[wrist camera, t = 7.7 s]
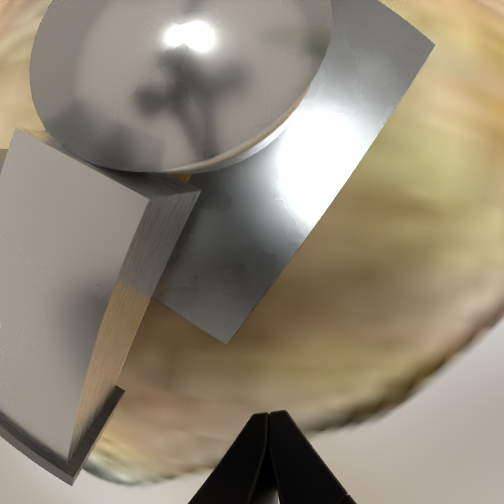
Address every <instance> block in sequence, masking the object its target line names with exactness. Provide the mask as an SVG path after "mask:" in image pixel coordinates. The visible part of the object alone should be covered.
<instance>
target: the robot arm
mask: <svg viewBox="0 0 504 504" xmlns="http://www.w3.org/2000/svg"><path fill="white" fill-rule="evenodd" d="M278 497H279V501H280V504H356V502H355V501H354V500H353V499H352V497H351V496H350V495H348V493H347V492H346V490H345V489H344V488H343V486H342V485H341V484H340V482H339V481H338V480H337V479H336V477H335V476H334V475H333V473H332V472H331V471H330V470H329V468H328V467H327V466H326V464H325V463H324V462H323V460H322V459H321V458H320V456H319V455H318V454H317V452H316V451H315V449H314V448H313V447H312V445H311V444H310V443H309V441H308V440H307V439H306V437H305V436H304V434H303V433H302V432H301V430H300V429H299V428H298V426H297V425H296V423H295V422H294V421H293V419H292V418H291V416H290V415H289V413H288V412H287V411H286V410H281V411H273V412H271V413H270V414H269V413H267V412H265V413H257V414H253V415H252V416H251V418H250V419H249V421H248V422H247V424H246V425H245V427H244V428H243V430H242V431H241V432H240V434H239V435H238V437H237V438H236V440H235V441H234V443H233V444H232V445H231V447H230V448H229V450H228V451H227V452H226V454H225V455H224V457H223V458H222V459H221V461H220V462H219V464H218V465H217V466H216V468H215V469H214V470H213V472H212V473H211V474H210V476H209V477H208V479H207V480H206V481H205V483H204V484H203V485H202V486H201V488H200V489H199V490H198V491H197V493H196V494H195V495H194V497H193V498H192V499H191V501H190V502H189V503H188V504H278Z"/></svg>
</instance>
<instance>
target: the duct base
mask: <svg viewBox="0 0 504 504" xmlns="http://www.w3.org/2000/svg"><path fill="white" fill-rule="evenodd" d="M331 5H332V20H333V21H332V30H331V38H330V42H329V45H328V48H327V52H326V55H325V58H324V60H323V62H322V64H321V66H320V68H319V70H318V72H317V74H316V76H315V78H314V80H313V82H312V84H311V86H310V88H309V90H308V92H307V94H306V95H305V97H304V99H303V101H302V103H301V105H300V107H299V109H298V111H297V113H296V114H295V116H294V117H293V119H292V120H291V122H290V123H289V124H288V125H287V127H286V128H285V129H284V130H283V131H282V132H281V133H280V135H279V136H277V137H276V138H275V139H274V140H273V141H272V142H271V143H270V144H268V145H267V146H266V147H264V148H263V149H261V150H260V151H259V152H257V153H256V154H254V155H252V156H250V157H249V158H247V159H245V160H243V161H241V162H239V163H236V164H234V165H231V166H228V167H226V168H222V169H218V170H214V171H210V172H204V173H196V174H172V173H170V174H172V175H174V176H176V177H178V178H180V179H182V180H184V181H185V182H187V183H189V184H191V185H193V186H195V187H197V188H199V189H201V190H202V191H201V193H200V195H199V197H198V199H197V201H196V203H195V205H194V207H193V209H192V211H191V213H190V215H189V217H188V219H187V221H186V223H185V225H184V227H183V229H182V232H181V234H180V236H179V238H178V240H177V242H176V244H175V246H174V248H173V251H172V253H171V255H170V257H169V259H168V261H167V264H166V266H165V268H164V270H163V272H162V275H161V277H160V279H159V281H158V283H157V286H156V288H155V290H154V293H153V295H152V297H153V298H155V299H156V300H158V301H159V302H161V303H162V304H164V305H165V306H167V307H168V308H170V309H171V310H173V311H174V312H176V313H177V314H179V315H180V316H182V317H183V318H185V319H186V320H188V321H189V322H191V323H192V324H194V325H196V326H197V327H199V328H200V329H202V330H203V331H205V332H207V333H208V334H210V335H211V336H213V337H215V338H216V339H218V340H219V341H221V342H223V343H224V344H227V343H228V342H229V340H230V339H231V338H232V337H233V335H234V334H235V333H236V331H237V330H238V329H239V327H240V326H241V325H242V324H243V322H244V321H245V320H246V318H247V317H248V316H249V314H250V313H251V312H252V310H253V309H254V308H255V306H256V305H257V304H258V302H259V301H260V300H261V298H262V297H263V296H264V294H265V293H266V292H267V290H268V289H269V288H270V286H271V285H272V284H273V282H274V281H275V280H276V278H277V277H278V276H279V274H280V273H281V272H282V270H283V269H284V267H285V266H286V265H287V263H288V262H289V261H290V259H291V258H292V257H293V255H294V254H295V252H296V251H297V250H298V248H299V247H300V246H301V244H302V243H303V241H304V240H305V239H306V237H307V236H308V234H309V233H310V232H311V230H312V229H313V227H314V226H315V225H316V223H317V222H318V220H319V219H320V218H321V216H322V215H323V213H324V212H325V211H326V209H327V208H328V206H329V205H330V204H331V202H332V201H333V199H334V198H335V196H336V195H337V194H338V192H339V191H340V189H341V188H342V186H343V185H344V183H345V182H346V181H347V179H348V178H349V176H350V175H351V173H352V172H353V170H354V169H355V168H356V166H357V165H358V163H359V162H360V160H361V159H362V157H363V156H364V154H365V153H366V151H367V150H368V148H369V147H370V145H371V144H372V142H373V141H374V139H375V138H376V136H377V135H378V133H379V132H380V130H381V129H382V127H383V126H384V124H385V123H386V121H387V120H388V118H389V117H390V115H391V114H392V112H393V111H394V109H395V108H396V106H397V105H398V103H399V102H400V100H401V98H402V97H403V95H404V94H405V92H406V91H407V89H408V88H409V86H410V84H411V83H412V81H413V80H414V78H415V77H416V75H417V73H418V72H419V70H420V69H421V67H422V66H423V64H424V62H425V61H426V59H427V58H428V56H429V54H430V53H431V51H432V49H433V48H434V46H435V44H434V43H433V42H432V41H430V40H429V39H428V38H427V37H426V36H424V35H423V34H422V33H421V32H420V31H418V30H417V29H416V28H415V27H413V26H412V25H411V24H410V23H408V22H407V21H406V20H404V19H403V18H402V17H400V16H399V15H398V14H396V13H395V12H394V11H392V10H391V9H389V8H388V7H386V6H385V5H384V4H382V3H381V2H379V1H378V0H331ZM45 132H48V130H47V129H46V131H45ZM48 133H49V132H48ZM7 152H8V149H0V175H1V171H2V168H3V164H4V161H5V158H6V155H7Z"/></svg>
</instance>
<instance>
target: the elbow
mask: <svg viewBox="0 0 504 504" xmlns="http://www.w3.org/2000/svg"><path fill="white" fill-rule="evenodd" d="M332 21H333V20H332V5H331V0H53V1H52V3H51V4H50V6H49V7H48V9H47V11H46V13H45V15H44V17H43V19H42V21H41V23H40V26H39V29H38V31H37V34H36V37H35V40H34V44H33V48H32V53H31V61H30V87H31V93H32V99H33V102H34V105H35V108H36V111H37V113H38V115H39V117H40V119H41V121H42V123H43V125H44V127H45V128H46V129H47V130H48V132H49V133H48V132H41V131H34V130H27V129H20V128H16V129H15V132H14V134H13V137H12V140H11V143H10V146H9V149H8V152H7V155H6V158H5V161H4V164H3V168H2V171H1V175H0V436H1V437H2V438H4V439H5V440H6V441H7V442H9V443H10V444H11V445H12V446H14V447H15V448H16V449H17V450H19V451H20V452H22V453H23V454H24V455H26V456H27V457H28V458H30V459H31V460H32V461H34V462H35V463H37V464H38V465H39V466H41V467H42V468H44V469H45V470H47V471H48V472H50V473H51V474H53V475H55V476H56V477H58V478H59V479H61V480H62V481H64V482H66V483H67V484H69V485H71V486H72V485H73V483H74V481H75V480H76V478H77V476H78V475H79V473H80V471H81V469H82V467H83V466H84V464H85V462H86V460H87V459H88V457H89V455H90V453H91V452H92V450H93V448H94V446H95V445H96V443H97V441H98V439H99V438H100V436H101V434H102V433H103V431H104V429H105V427H106V426H107V424H108V422H109V421H110V419H111V417H112V416H113V414H114V412H115V410H116V409H117V407H118V405H119V404H120V402H121V400H122V397H123V395H124V392H125V390H123V389H121V388H120V387H118V386H116V384H117V382H118V379H119V376H120V374H121V371H122V368H123V366H124V363H125V360H126V358H127V355H128V353H129V350H130V348H131V345H132V343H133V340H134V338H135V335H136V333H137V330H138V328H139V325H140V323H141V321H142V318H143V316H144V314H145V311H146V309H147V306H148V304H149V302H150V299H151V297H152V295H153V293H154V290H155V288H156V286H157V283H158V281H159V279H160V277H161V275H162V272H163V270H164V268H165V266H166V264H167V261H168V259H169V257H170V255H171V253H172V251H173V248H174V246H175V244H176V242H177V240H178V238H179V236H180V234H181V232H182V229H183V227H184V225H185V223H186V221H187V219H188V217H189V215H190V213H191V211H192V209H193V207H194V205H195V203H196V201H197V199H198V197H199V195H200V193H201V191H202V190H201V189H199V188H197V187H195V186H193V185H191V184H189V183H187V182H185V181H184V180H182V179H180V178H178V177H176V176H174V175H172V174H196V173H204V172H210V171H214V170H218V169H222V168H226V167H228V166H231V165H234V164H236V163H239V162H241V161H243V160H245V159H247V158H249V157H250V156H252V155H254V154H256V153H257V152H259V151H260V150H261V149H263V148H264V147H266V146H267V145H268V144H270V143H271V142H272V141H273V140H274V139H275V138H276V137H277V136H279V135H280V133H281V132H282V131H283V130H284V129H285V128H286V127H287V125H288V124H289V123H290V122H291V120H292V119H293V117H294V116H295V114H296V113H297V111H298V109H299V107H300V105H301V103H302V101H303V99H304V97H305V95H306V94H307V92H308V90H309V88H310V86H311V84H312V82H313V80H314V78H315V76H316V74H317V72H318V70H319V68H320V66H321V64H322V62H323V60H324V58H325V55H326V52H327V48H328V45H329V42H330V38H331V30H332ZM170 173H172V174H170Z"/></svg>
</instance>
